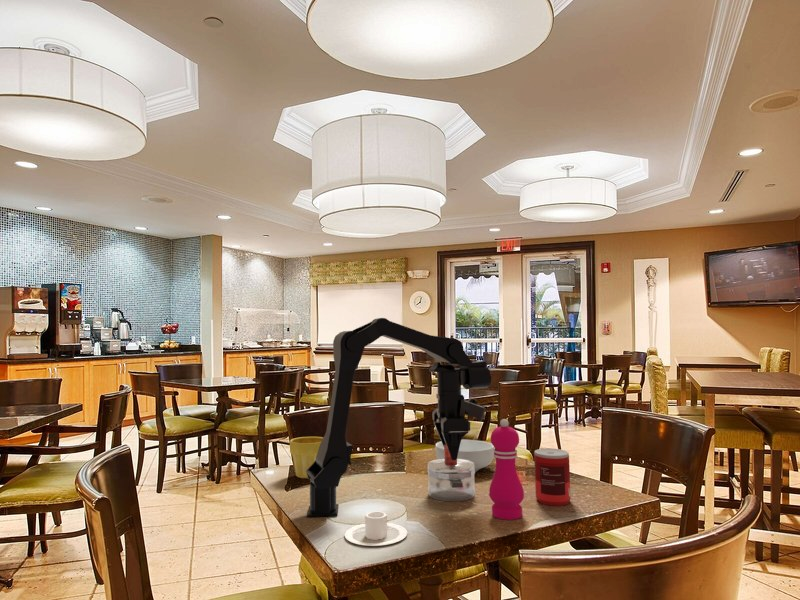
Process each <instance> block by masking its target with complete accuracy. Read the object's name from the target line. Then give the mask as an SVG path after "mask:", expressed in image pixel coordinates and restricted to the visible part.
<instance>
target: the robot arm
mask: <svg viewBox="0 0 800 600" xmlns="http://www.w3.org/2000/svg"><path fill="white" fill-rule="evenodd" d="M381 337H383V338H386V339H390V340H392V341H396V342H399V343H401V344H404V345H407V346H410V347H413V348H416V349H418V350H421V351H423V352H424V353H426V354H427V355H428V356H430V357H432V358H434V359H435V360H437V361H435V362H434V364H433V365H432V366H431V367H430V368H428V371H429V372H431V373H436V374H437V376H436V377H437V379H436V380H437V384H436V385H437V393H436V396H435V397H436V398H435V399H437V408H434V410H433V411H432V414H431V416H432V420H433V424H434V427H435V430H436V431H437V434H438V437H439V439H440V442H441V441H442V444H443V446H444V444H446V445H447V448H448V451H449V453H450V456H451V459H452V460H457V456H458V452H459V447H460V443H461V440H463V438H464V437H465V436H466V435H468V434H469V432H470V431H471V422H470V421H469V419H467V418H466V416H468V417H472V418H474V419H476V420H478V421H480V422H482V421H483V419H484V416H485V413H486V409H487V408H485V406H482V405H480V404H478V400H477V399H474V398H471V397H470V398H468V400H465V396H464V395H463V394H462V387H463V388H464V389H465V390H473V389H475V390H476V389H488V388H489V387H490V386H491V384H492V374H491V371H490V369H489V366H487V361H486V360H477V361H472V360H471V359H470V357H469V355H467V353H466V352H465V349H464V345H463V342H462V341H461V340H459V339H457V338H453V337H448V336H447V337H446V336H437V335H430V334H427V333H424V332H422V331H419V330H417V329H414V328H411V327H408V326H406V325H402V324H400V323H397V322H394V321H390V320H389V319H388V318H385V317H378V318H374V319H373V320H372V321H370V322H368V323H366V324H364V325H361V326H359V327H356V328H355V329H353V330H346V331H345V330H343V331H340V332H338V333H337V334H336V335H335V336H334V339H333V341H332V342H333V343H332V345H333V349H332V350H333V351H332V352H333V362H334V368H335V369H334V370H335V371H334V379H333V385H332V392H331V400H330V405H329V413H328V419H327V426H326V431H325V434H324V436H323V440H322V442H321V444H320V447H319V450H318V453H317V456H316V460H315V461H314V463H313V464H312V465H311V466H310V467H309V468H308V469H307V470H306V473H307V476H308V478H307V479H308V480H309V481H310V483H309V506H308V509H307V513H306V517H309V518H310V517H313V518H314V517H330V516H332V517H334V516H335V517H336V516H338V515H339V504H338V503H337V487H339V484H340V481H341V479H342V476H343V475H344V474H345V473H346V472H347V470H348V467H349V465H350V466H352V462H351V455H352V453H353V451H354V450H353V449H354V445H353V444H351V443H349V442H348V441H347V437H346V435H347V428H348V420H349V413H350V405H351V399H352V390H353V385H354V380H355V378H354V377H355V373H356V370H357V368H358V366H359V364H360V362H361V360H362V357H363V354H364V350H365V347H367V346H369V345H370V344H372V343H374V342H375V341H377V340H378V339H379V338H381ZM441 362H443V363H447V364H441ZM455 366H459V368H457V367H456V368H455Z"/></svg>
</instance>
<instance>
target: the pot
mask: <svg viewBox="0 0 800 600" xmlns="http://www.w3.org/2000/svg"><path fill="white" fill-rule="evenodd" d="M427 474H428V475H427V477H428V480H427V482H428V496H429V497H430V498H431V499H433V498H434V500H437V501H441V502H464V501H468V500H471V499H473V498H474V497H475V495H476V493H475V492H476V491H475V490H476V489H475V485H476V484H475V474H476V472H475V468H474V470H473V471H471V472H467V473H461V474H442V473H436V472H432V471H430V470H428V469H427Z"/></svg>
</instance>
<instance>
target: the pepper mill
mask: <svg viewBox="0 0 800 600" xmlns="http://www.w3.org/2000/svg"><path fill="white" fill-rule="evenodd" d="M499 422H500V423H499V425H500V426H497V427H496V428H494V429H493V430H492V431H491V434H490V443H491V444H492V445H493V446H494V450H493V452H494V454H493V456H494V457H493V458H495V470H494V474H493V476H492V480H491V481H490V485H489V491H488V492H489V493H488V495H489V497H490V500H491V501H492V502H493V504H492V505H491V513H492V516H493V517H494V518H497V519H500V520H510V521H511V520H518V519H521V518H522V516H523V507H522V505H521V503H522V502H523V500H524V498H525V493H524V488H523V484H522V482H521V480H520V478H519V475H518V473H517V469H516V459H517V457H518V454H517V453H518V450H517V449H516V448H517V447H518V446H519V443H520V437H519V433H518V431H516V430H515V428H513V427H512V426H509V424H510V423H509V421H508V419H506V418H502V419H501V420H500V421H499Z"/></svg>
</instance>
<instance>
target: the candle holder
mask: <svg viewBox="0 0 800 600" xmlns="http://www.w3.org/2000/svg"><path fill="white" fill-rule="evenodd" d="M364 522H365V523H361V524H357V525H354V526H352V527H350V528H348V529H347V530H346V531H345V533H344V537H345V539H346V540H347V541H349V542H350V543H352V544H355V545H359V546H365V547H379V546H380V547H381V546H382V547H383V546H389V545H392V544H395V543H398V542H400V541H402V540H404V539H405V538H406V537H407V536H408V531H407V529H406V528H405V527H403V526H401V525H398V524H395V523H389V522H388V514H387V513H385V512H384V511H370V512H367V513H366V514H365V515H364ZM389 528H392V529H395V530H396V531H397V532H398V533H397V532H396V531H395V530H394V531H395V532H396V533H397V536H396V537H395V538H394V539H391V540H388V541H383V542H364V541H359V540H357V539H355V538H354V537H353V536H354V535H355V533H357V532H358V531H361V530H364V532H365V533H364V534H365V535H364V536H365V538H366V539H368V540H372V541H373V540H375V541H379V540H378V539H380V540H383V538H384V539H385V538H387V536H388V529H389ZM392 529H391V530H392ZM398 534H399V535H398Z"/></svg>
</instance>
